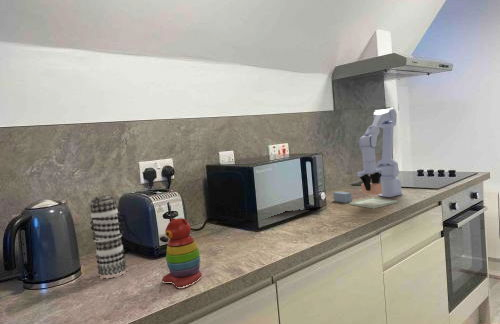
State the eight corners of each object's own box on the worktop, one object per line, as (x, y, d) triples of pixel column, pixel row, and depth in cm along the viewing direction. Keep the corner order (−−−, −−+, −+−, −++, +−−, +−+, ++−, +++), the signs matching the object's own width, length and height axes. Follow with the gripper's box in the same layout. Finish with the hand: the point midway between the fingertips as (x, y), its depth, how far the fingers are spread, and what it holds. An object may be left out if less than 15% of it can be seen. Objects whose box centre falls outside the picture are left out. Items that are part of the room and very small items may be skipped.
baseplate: (372, 198, 188) (372, 197, 188) (398, 202, 174) (397, 200, 173) (349, 204, 181) (349, 202, 181) (373, 208, 167) (373, 206, 167)
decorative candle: (133, 271, 119) (122, 194, 117) (104, 282, 113) (92, 200, 111) (121, 266, 125) (110, 193, 124) (93, 276, 119) (81, 198, 117)
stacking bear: (159, 282, 107) (151, 221, 106) (188, 270, 114) (181, 213, 113) (180, 290, 99) (172, 224, 98) (210, 277, 106) (202, 215, 105)
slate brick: (340, 199, 196) (339, 191, 196) (351, 201, 188) (351, 192, 188) (334, 201, 194) (333, 192, 194) (345, 203, 186) (344, 194, 186)
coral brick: (368, 191, 182) (367, 182, 182) (382, 193, 174) (381, 183, 174) (362, 192, 180) (361, 183, 180) (376, 194, 172) (375, 184, 172)
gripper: (374, 159, 183) (377, 186, 184) (351, 163, 176) (354, 191, 177) (385, 159, 176) (388, 187, 177) (362, 163, 170) (364, 192, 171)
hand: (371, 189), depth 177 cm, fingers closed on coral brick, 4 cm apart
